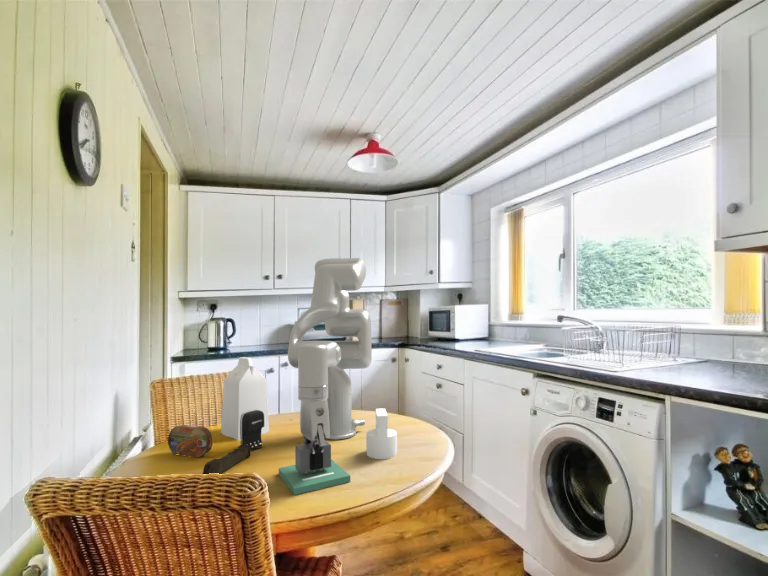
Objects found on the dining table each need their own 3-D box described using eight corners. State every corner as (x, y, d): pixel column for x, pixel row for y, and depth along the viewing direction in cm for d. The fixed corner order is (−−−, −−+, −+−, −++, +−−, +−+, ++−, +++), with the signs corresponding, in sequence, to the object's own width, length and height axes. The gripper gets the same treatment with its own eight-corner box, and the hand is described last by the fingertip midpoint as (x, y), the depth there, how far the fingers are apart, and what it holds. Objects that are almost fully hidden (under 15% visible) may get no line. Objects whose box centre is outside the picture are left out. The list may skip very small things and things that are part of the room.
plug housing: (325, 461, 104) (325, 440, 105) (331, 466, 101) (330, 444, 101) (295, 468, 100) (295, 445, 101) (300, 473, 97) (300, 450, 97)
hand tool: (239, 457, 116) (239, 441, 117) (251, 458, 115) (251, 441, 116) (193, 485, 98) (193, 465, 98) (207, 486, 97) (207, 466, 97)
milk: (269, 432, 140) (269, 357, 141) (238, 440, 131) (238, 360, 132) (250, 425, 147) (251, 355, 149) (220, 433, 139) (221, 358, 140)
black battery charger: (247, 453, 118) (247, 414, 119) (239, 451, 120) (239, 413, 121) (266, 447, 124) (266, 409, 125) (258, 444, 126) (258, 408, 127)
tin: (166, 453, 119) (167, 425, 120) (175, 450, 122) (176, 422, 123) (206, 459, 114) (206, 429, 115) (214, 455, 117) (214, 426, 118)
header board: (329, 463, 110) (329, 444, 110) (350, 481, 98) (350, 460, 98) (278, 473, 103) (278, 454, 103) (294, 495, 91) (294, 472, 91)
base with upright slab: (398, 458, 113) (398, 415, 113) (366, 460, 112) (366, 416, 113) (395, 447, 122) (395, 408, 122) (366, 449, 121) (365, 408, 122)
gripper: (339, 396, 96) (340, 474, 95) (316, 385, 111) (316, 453, 110) (309, 400, 93) (309, 481, 91) (289, 388, 107) (289, 458, 106)
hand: (313, 465), depth 101 cm, fingers closed on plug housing, 3 cm apart
